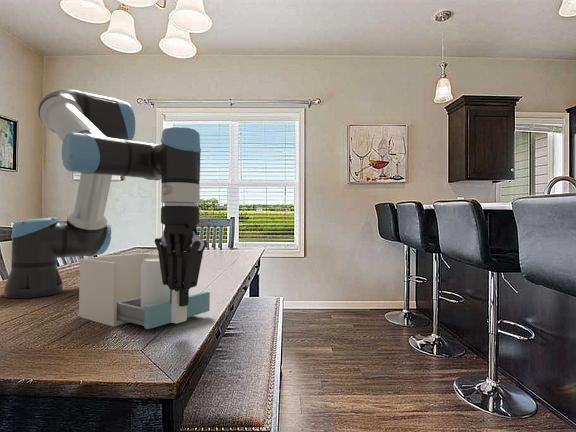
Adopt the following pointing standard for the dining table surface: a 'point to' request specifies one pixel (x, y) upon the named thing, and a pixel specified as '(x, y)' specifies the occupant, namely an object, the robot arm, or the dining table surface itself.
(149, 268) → the beverage can
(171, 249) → the robot arm
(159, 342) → the dining table surface
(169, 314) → the teal drawer
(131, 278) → the white drawer cabinet
